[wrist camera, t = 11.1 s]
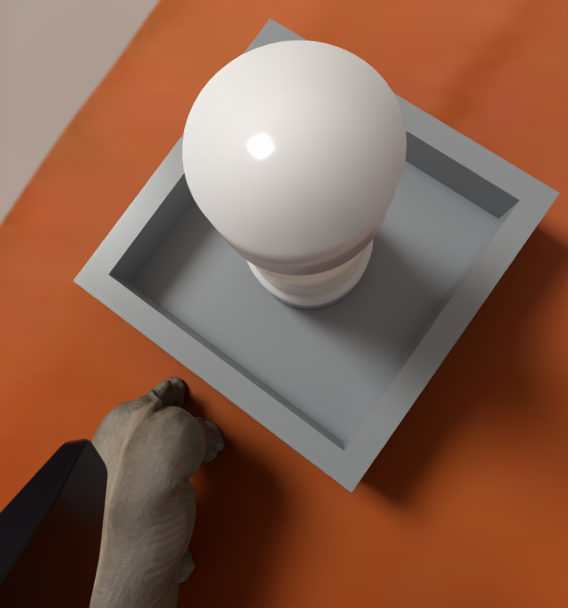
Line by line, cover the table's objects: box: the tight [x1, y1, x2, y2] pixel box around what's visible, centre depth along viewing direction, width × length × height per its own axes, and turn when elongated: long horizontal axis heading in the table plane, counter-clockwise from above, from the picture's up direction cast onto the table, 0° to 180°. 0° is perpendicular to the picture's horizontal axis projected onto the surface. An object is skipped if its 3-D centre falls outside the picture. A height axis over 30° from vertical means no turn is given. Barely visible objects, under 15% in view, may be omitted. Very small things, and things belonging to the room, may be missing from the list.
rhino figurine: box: [89, 377, 224, 608], centre depth 17 cm, size 4×14×6 cm, turn 169°
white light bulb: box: [182, 40, 407, 310], centre depth 15 cm, size 5×5×10 cm
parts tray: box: [74, 19, 559, 493], centre depth 19 cm, size 13×13×3 cm
